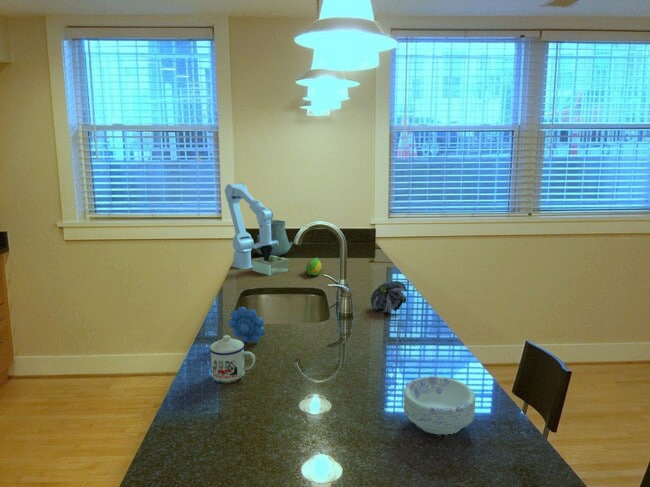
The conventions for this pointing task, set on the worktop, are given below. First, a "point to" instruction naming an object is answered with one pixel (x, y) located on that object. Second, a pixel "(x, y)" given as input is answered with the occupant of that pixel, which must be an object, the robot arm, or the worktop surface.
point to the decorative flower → (388, 297)
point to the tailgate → (261, 266)
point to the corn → (314, 267)
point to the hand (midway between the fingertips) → (266, 260)
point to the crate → (277, 264)
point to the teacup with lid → (229, 359)
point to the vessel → (278, 238)
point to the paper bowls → (439, 404)
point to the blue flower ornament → (246, 324)
